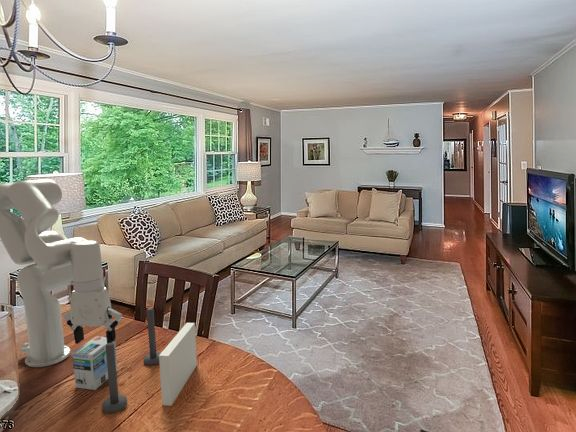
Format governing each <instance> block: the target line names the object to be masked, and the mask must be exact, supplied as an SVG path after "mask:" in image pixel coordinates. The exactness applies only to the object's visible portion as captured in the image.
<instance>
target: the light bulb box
mask: <svg viewBox="0 0 576 432" xmlns="http://www.w3.org/2000/svg"><path fill="white" fill-rule="evenodd" d="M112 343H114V350H115V362H116V373H117V372H118V364H117V363H118V361H117V360H118V359H117V345H116V340H115V341H113V342H112ZM106 344H107V338H106V336H98V335H96V336H95V337H93V338H92V339H91V340H89V341H87V342H86V343H84V344H83V345H81V346H79V348H77V349H75V350H73V351H72V353H71V356H72V364H73V365H72V366H73V375H74V376H73V377H74V384H75V385H74V386H75V388H77V389H84V390H86V389H87V390H92V391H96V390H97V389H99V387H101V386H102V385H103V384H104V383H105V382H106V381H107V380H108V369H107V357H106V346H105V345H106ZM108 381H109V380H108Z"/></svg>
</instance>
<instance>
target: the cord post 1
mask: <svg viewBox="0 0 576 432" xmlns="http://www.w3.org/2000/svg"><path fill="white" fill-rule="evenodd" d="M105 346H106V357H107V369H108V388H109V389H108V390H109V397H107V398H106V399H105V400H104V401H102V403H101V409H102V412H103V413H105V414H115V413H119V412H120V411H123V410H124V409H125V408H126V407H127V405H128V397H127V396H125V395H123V394H119V386H118V376H117V375H118V374H117V372H116V362H115V350H114V343H108V344H106V345H105Z"/></svg>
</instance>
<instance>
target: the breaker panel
mask: <svg viewBox="0 0 576 432" xmlns="http://www.w3.org/2000/svg"><path fill="white" fill-rule="evenodd" d="M196 341H197V340H196V323H195V322H186V323H185V324H184V325H183V327H182V328H181V329H180V330H179V331H178V332H177V334H175V336H174V337H173V339H172V340H170V342H169V343H168V345H166V347H165V348H164V349H163V350H162V351H161V352H160V353H161V354H160V355H159V374H160V375H159V376H160V377H159V379H160V392H161V393H160V394H161V405H162V406H168V407H169V406H170V407H171V406H172V405H173V404H174V402H175V401H176V399H177V397H178V396H179V395H180V393H181V392H182V389H183V388H184V387H185V385H186V383H187V382H188V380H189V378H190V377H191V375H193V372H194V370H195V369H196V367H197V366H198V363H197V362H198V361H197V359H198V358H197V342H196Z"/></svg>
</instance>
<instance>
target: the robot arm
mask: <svg viewBox="0 0 576 432" xmlns="http://www.w3.org/2000/svg"><path fill="white" fill-rule="evenodd" d="M62 193H63V192H62V188H61V187H60V185H59V184H58V183H57V182H55V181H54V180H52V179H50V178H49V179H48V178H47V179H29V180H28V179H27V180H20V181H16V182H7V183H6V182H4V183H2V182H1V183H0V240H1V242H2V244H3V246H4V248H5V250H6V252H7V254H8V256H9V257H10V259H11V261H12V262H13V263H14V264H16V265H19V266H23V265H24V267H23V268H21V269H20V270H19V271H18V274H17V277H16V280H17V284H18V287H19V290H20V293H21V294H20V295H21V296H22V297H21V298H22V300H23V306H24V307H23V308H24V314H25V322H26V329H27V337H28V343H27V342H24V343H23V344H22V345H21V348H20V350H19V352H20V353H26V355H27V356H26V357H25V359H24V363H25V365H26V366H27V365H28V366H27V367H31V368H44V367H49V366H52V365H55V364H56V365H57V364H58V363H60V362H63V361H64V360H65V359H67V358H68V357H69V356H70V355H71V348H70V347H69V346H67V345H65V339H64V329H63V319H62V317H63V318H64V320H65V322H66V324H67V325H68V327H70V330H71V331H73V338H74V343H75V344H76V345H77V344H80V343H81V342H82V341H84V340H85V334H84V328H83V327H103V326H104V328H105V329H106V331H105V337H106V338H107V344H108V343H112V342H113V341H115V342H116V338H117V337H116V334H117V333H116V328H117V326H118V325H119V324H120V322H121V320H122V317H123V313H121V312H119V311H117V310H116V309H113V308H112V303H111V298H110V295H109V291H108V289H107V286H106V287H105V283H104V274H103V265H102V255H101V253H102V252H101V245H100V243H99V242H98V241H96V240H87V239H85V238H84V237H79V236H78V237H71V238H66V239H64V237H63V236H62V235H61V234H60V233H58V232H57V231H54V230H49V229H50V228H52V227H53V226H54V225H56V223H57V222H58V220H59V218H60V217H59V212H58V210H57V208H55V206H54V205H58V203H60V202H61V200H62V198H63V194H62ZM13 209H14V210H16V211H17V212H18V213H19V215H18V214H17V213H14V212H12V211H11V210H13ZM25 265H26V266H25ZM67 286H73V290H72V291H71V294H70V295H71V296H70V311H68V312H66V313H64V314H62V311H61V303H60V301H59V299H58V298H57V297H56V296H54V295H53V294H52V291H54V290H56V289H60V288H63V287H67ZM113 317H114V319H112V318H113Z"/></svg>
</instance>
